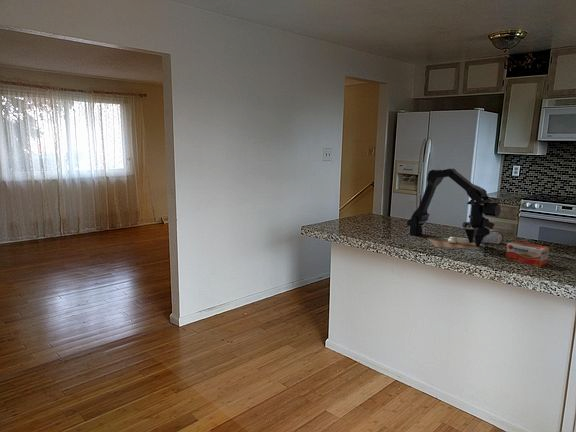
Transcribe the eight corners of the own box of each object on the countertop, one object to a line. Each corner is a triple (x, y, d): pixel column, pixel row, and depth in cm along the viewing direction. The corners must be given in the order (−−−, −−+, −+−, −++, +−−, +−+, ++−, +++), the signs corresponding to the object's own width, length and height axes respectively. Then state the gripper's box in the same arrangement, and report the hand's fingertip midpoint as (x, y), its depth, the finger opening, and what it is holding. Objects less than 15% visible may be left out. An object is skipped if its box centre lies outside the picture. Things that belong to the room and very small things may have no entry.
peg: (447, 242, 214) (448, 237, 214) (447, 240, 218) (448, 235, 218) (473, 245, 210) (474, 240, 210) (473, 243, 214) (473, 238, 214)
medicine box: (504, 259, 192) (506, 242, 191) (512, 256, 197) (514, 240, 196) (539, 267, 180) (541, 249, 179) (547, 264, 185) (549, 247, 184)
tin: (501, 245, 218) (503, 229, 216) (502, 246, 215) (504, 231, 213) (470, 242, 223) (472, 227, 221) (471, 243, 220) (473, 228, 218)
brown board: (434, 249, 207) (435, 246, 207) (426, 239, 227) (426, 237, 227) (480, 251, 205) (480, 248, 205) (467, 241, 225) (468, 238, 224)
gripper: (502, 217, 194) (499, 249, 197) (484, 211, 213) (482, 240, 215) (478, 217, 195) (475, 249, 197) (463, 211, 213) (460, 240, 216)
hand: (474, 244), depth 206 cm, fingers open, 8 cm apart
